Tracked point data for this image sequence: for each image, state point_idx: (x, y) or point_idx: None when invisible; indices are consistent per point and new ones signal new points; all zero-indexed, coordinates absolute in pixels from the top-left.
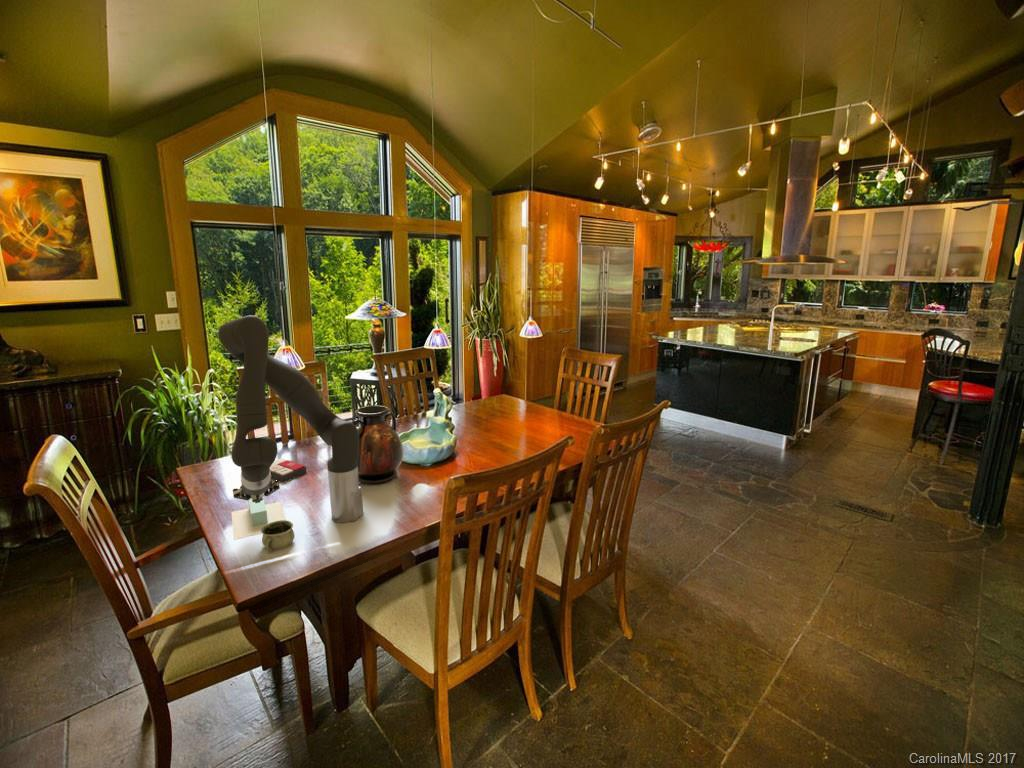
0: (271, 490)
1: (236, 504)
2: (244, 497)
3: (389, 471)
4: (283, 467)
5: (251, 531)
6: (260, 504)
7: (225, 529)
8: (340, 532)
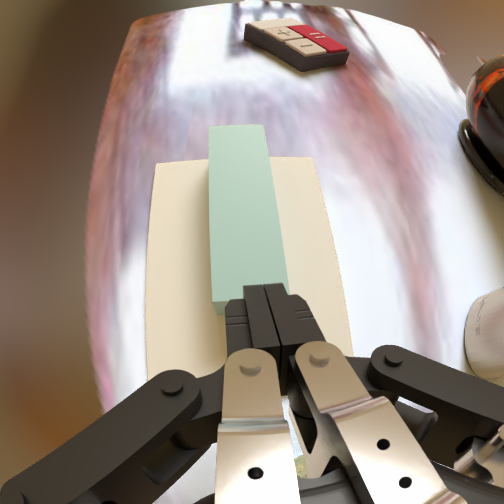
0: (440, 456)
1: (180, 120)
2: (158, 494)
3: None
4: (302, 37)
5: (212, 359)
6: (258, 213)
7: (125, 270)
8: None
